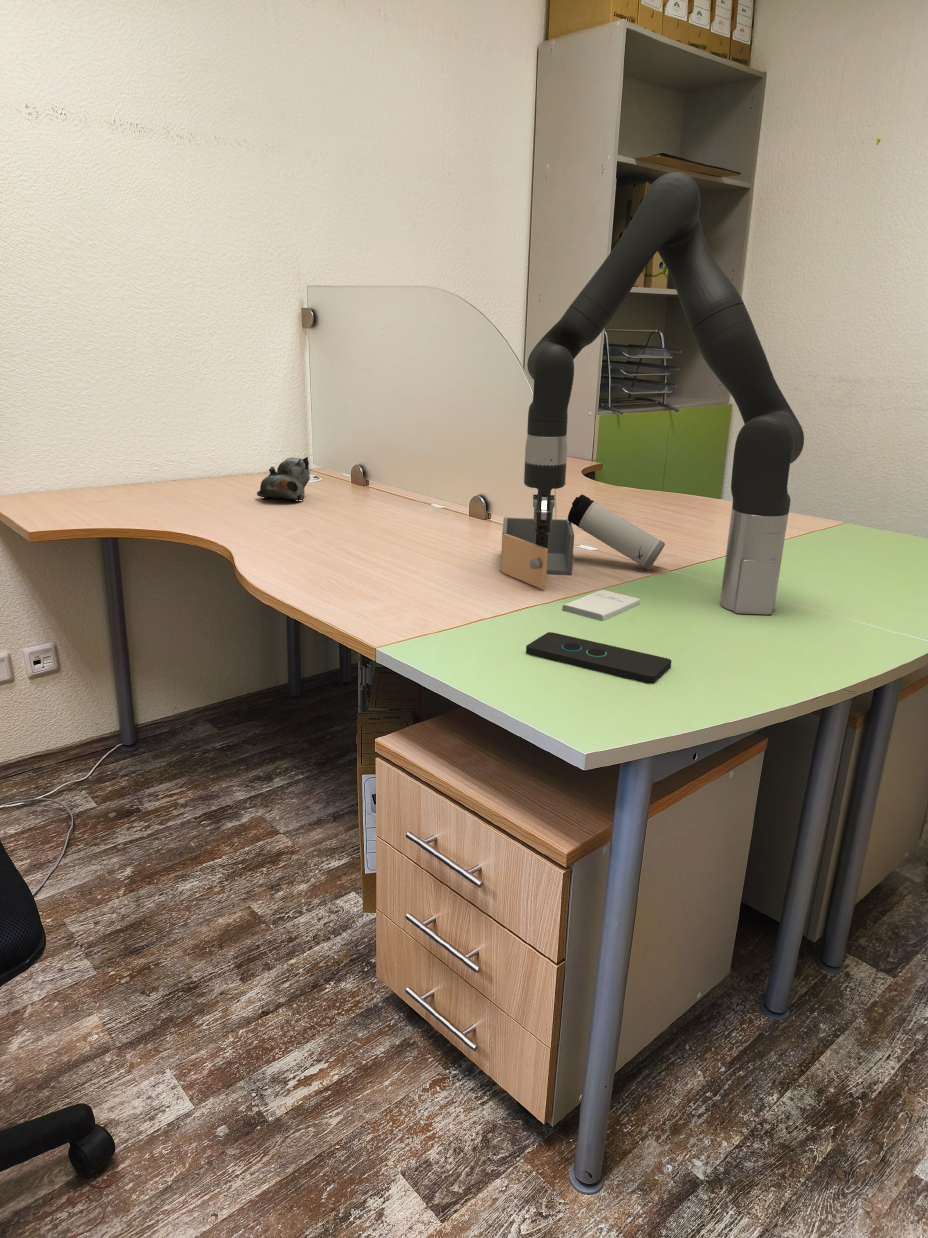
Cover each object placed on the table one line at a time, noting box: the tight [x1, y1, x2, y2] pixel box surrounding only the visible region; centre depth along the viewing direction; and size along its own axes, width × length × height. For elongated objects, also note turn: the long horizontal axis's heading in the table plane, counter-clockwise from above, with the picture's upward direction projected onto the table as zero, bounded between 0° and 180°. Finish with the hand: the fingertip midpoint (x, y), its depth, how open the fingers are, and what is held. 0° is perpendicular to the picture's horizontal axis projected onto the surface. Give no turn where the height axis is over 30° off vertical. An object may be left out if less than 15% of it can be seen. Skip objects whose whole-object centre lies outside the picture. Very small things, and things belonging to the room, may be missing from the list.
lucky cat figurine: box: [256, 456, 311, 501], centre depth 227 cm, size 15×12×14 cm
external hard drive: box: [561, 589, 641, 622], centre depth 146 cm, size 2×8×12 cm
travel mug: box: [567, 494, 666, 570], centre depth 170 cm, size 6×7×20 cm
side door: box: [500, 534, 548, 590], centre depth 158 cm, size 2×13×8 cm, turn 33°
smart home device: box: [525, 631, 673, 685], centre depth 122 cm, size 8×2×20 cm
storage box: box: [500, 517, 575, 576], centre depth 170 cm, size 14×14×8 cm
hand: (541, 552), depth 156 cm, fingers closed
